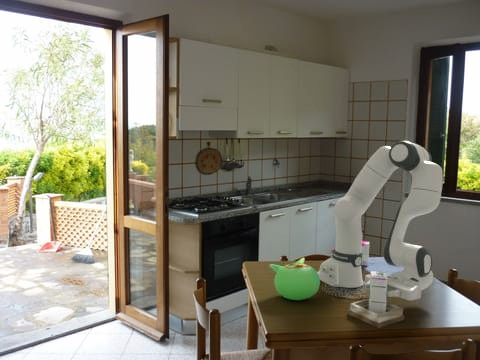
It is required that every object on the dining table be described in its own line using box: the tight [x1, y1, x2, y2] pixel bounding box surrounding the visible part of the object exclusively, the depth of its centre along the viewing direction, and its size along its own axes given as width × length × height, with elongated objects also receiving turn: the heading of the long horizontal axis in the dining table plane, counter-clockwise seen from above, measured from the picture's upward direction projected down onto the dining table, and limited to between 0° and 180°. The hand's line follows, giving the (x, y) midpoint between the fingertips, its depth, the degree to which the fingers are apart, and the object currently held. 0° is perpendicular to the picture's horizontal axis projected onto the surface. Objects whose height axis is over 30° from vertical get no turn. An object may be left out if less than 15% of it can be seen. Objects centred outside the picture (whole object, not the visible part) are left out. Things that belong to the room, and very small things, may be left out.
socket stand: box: [347, 297, 406, 329], centre depth 166 cm, size 14×14×4 cm
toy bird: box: [268, 257, 321, 301], centre depth 181 cm, size 18×17×15 cm
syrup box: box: [368, 271, 388, 314], centre depth 165 cm, size 6×6×14 cm
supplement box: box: [361, 240, 370, 268], centre depth 230 cm, size 6×6×12 cm
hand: (376, 290), depth 165 cm, fingers open, 8 cm apart
